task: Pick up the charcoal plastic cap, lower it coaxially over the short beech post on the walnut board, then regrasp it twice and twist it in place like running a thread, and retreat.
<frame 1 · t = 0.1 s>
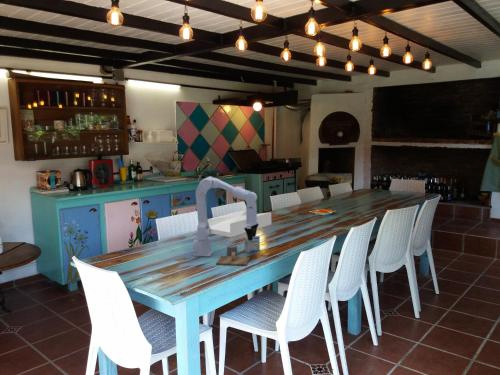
hand: (251, 238, 223), 10 cm above the table, fingers open, 7 cm apart
white long open box: (240, 229, 289), on the table
medicine box: (252, 251, 234), on the table
post board: (233, 261, 215), on the table
cap: (232, 255, 227), on the table
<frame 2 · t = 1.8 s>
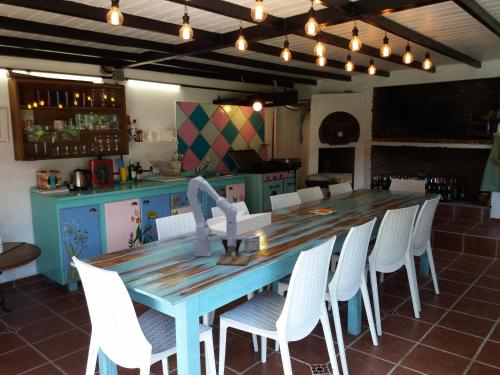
hand: (232, 252, 226), 1 cm above the table, fingers closed on cap, 5 cm apart
cap: (232, 255, 227), on the table, touching gripper
everything else where it was.
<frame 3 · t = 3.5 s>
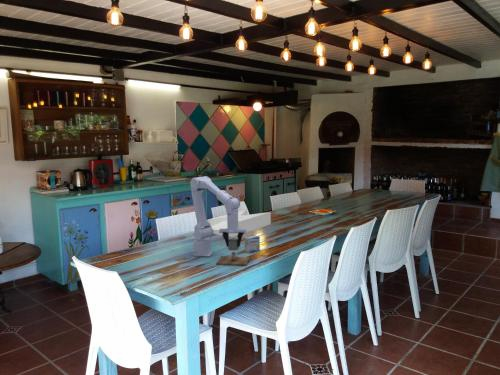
hand: (233, 246, 214), 8 cm above the table, fingers closed on cap, 5 cm apart
cap: (233, 249, 215), point 7 cm above the table, touching gripper
everything else where it was.
when the fingers open (3 cm above the table, at t = 5.3 s): cap stays where it is, resting on post board.
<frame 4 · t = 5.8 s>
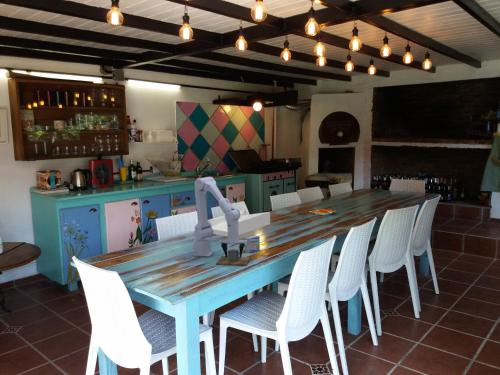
hand: (233, 257, 215), 3 cm above the table, fingers open, 7 cm apart
cap: (233, 259, 215), point 1 cm above the table, touching post board
everything else where it was.
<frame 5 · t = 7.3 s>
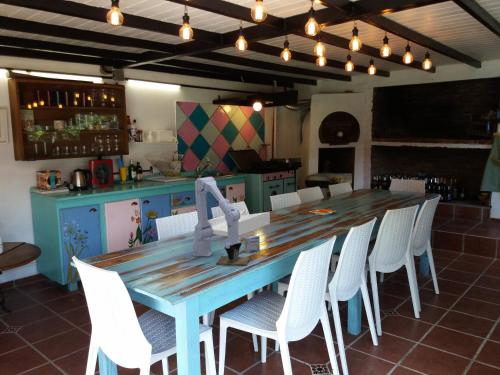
hand: (233, 257, 215), 2 cm above the table, fingers closed on cap, 5 cm apart
cap: (233, 259, 215), point 1 cm above the table, touching gripper
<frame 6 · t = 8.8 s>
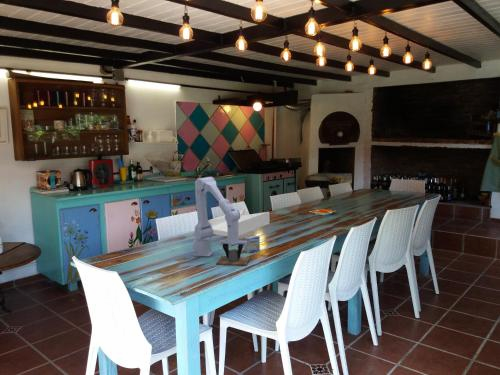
hand: (233, 257, 215), 2 cm above the table, fingers closed on cap, 6 cm apart
cap: (233, 259, 215), point 1 cm above the table, touching gripper
when the fingers open (2 cm above the table, at t = 10.4 s): cap stays where it is, resting on post board.
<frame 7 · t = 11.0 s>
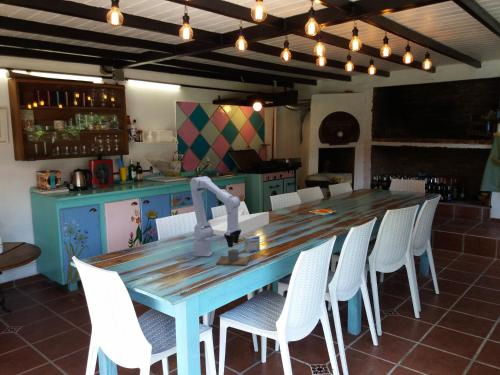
hand: (233, 245, 214), 9 cm above the table, fingers open, 7 cm apart
cap: (233, 259, 215), point 1 cm above the table, touching post board
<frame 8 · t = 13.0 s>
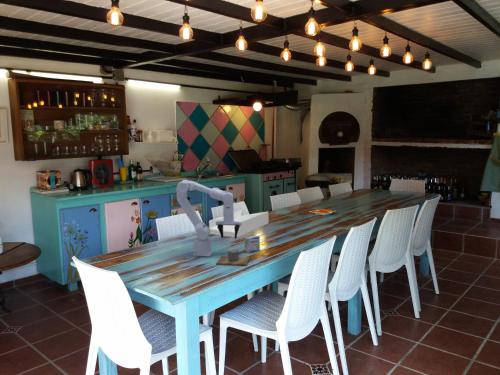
hand: (229, 237, 228), 9 cm above the table, fingers open, 7 cm apart
at the end: cap 0.0 cm off-centre on the post board, point 1.0 cm above the post board's base; cap tilted 0°; the gripper is holding nothing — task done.
